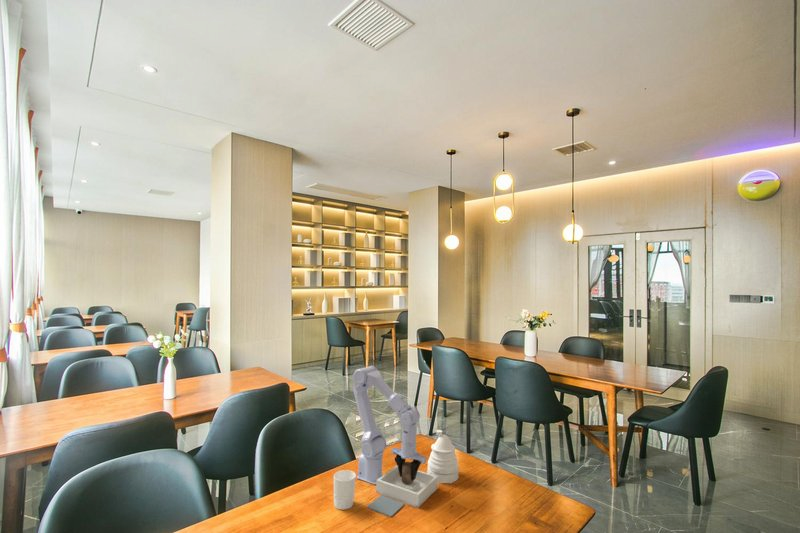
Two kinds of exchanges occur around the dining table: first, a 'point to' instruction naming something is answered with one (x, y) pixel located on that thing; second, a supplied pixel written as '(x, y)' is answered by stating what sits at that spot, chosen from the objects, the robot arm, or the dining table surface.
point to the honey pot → (443, 460)
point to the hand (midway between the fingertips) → (407, 477)
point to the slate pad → (385, 506)
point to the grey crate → (407, 487)
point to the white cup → (344, 489)
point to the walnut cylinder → (406, 473)
